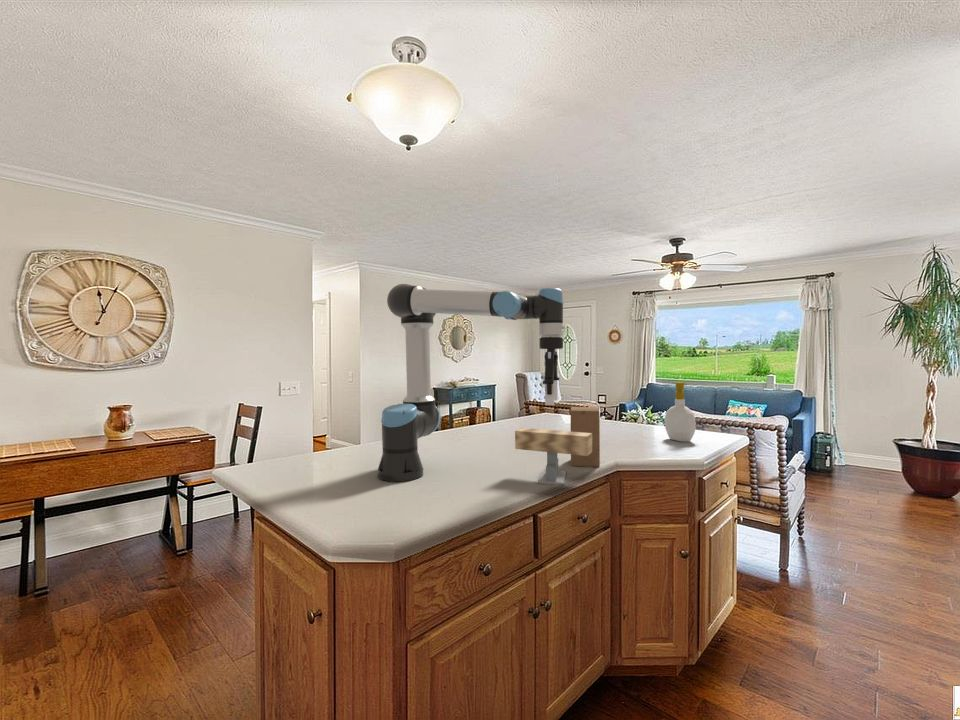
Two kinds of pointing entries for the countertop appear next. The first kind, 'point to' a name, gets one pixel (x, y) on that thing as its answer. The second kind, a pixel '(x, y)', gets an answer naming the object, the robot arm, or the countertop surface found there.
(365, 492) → the countertop surface
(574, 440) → the beam
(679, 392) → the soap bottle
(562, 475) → the bracket
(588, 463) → the wooden block
